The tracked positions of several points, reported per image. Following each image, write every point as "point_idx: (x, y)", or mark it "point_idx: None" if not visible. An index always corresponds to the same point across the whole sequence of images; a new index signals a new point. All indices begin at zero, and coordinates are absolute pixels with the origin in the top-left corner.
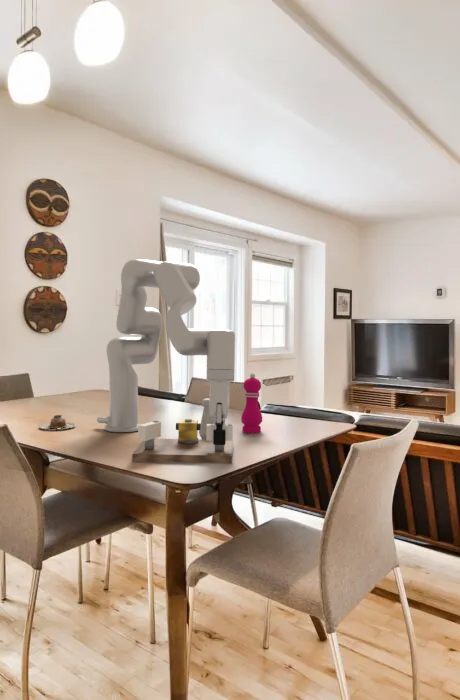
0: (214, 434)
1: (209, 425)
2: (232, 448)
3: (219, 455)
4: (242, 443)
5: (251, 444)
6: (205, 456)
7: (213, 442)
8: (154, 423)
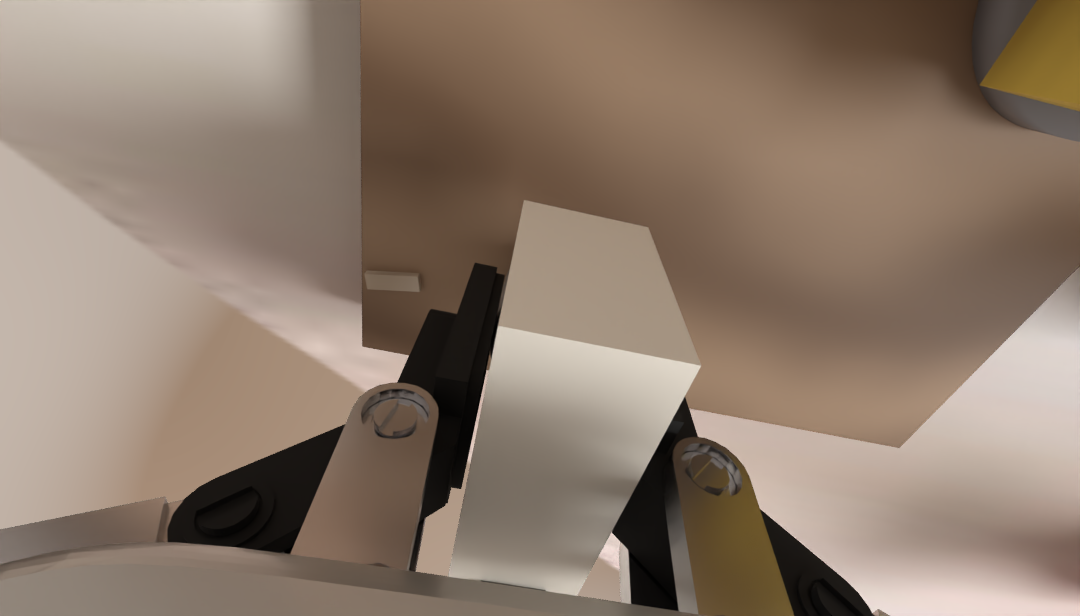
0: (449, 342)
1: (501, 378)
2: None
3: (367, 257)
4: (930, 471)
5: (868, 503)
6: (363, 117)
7: (472, 272)
8: None
